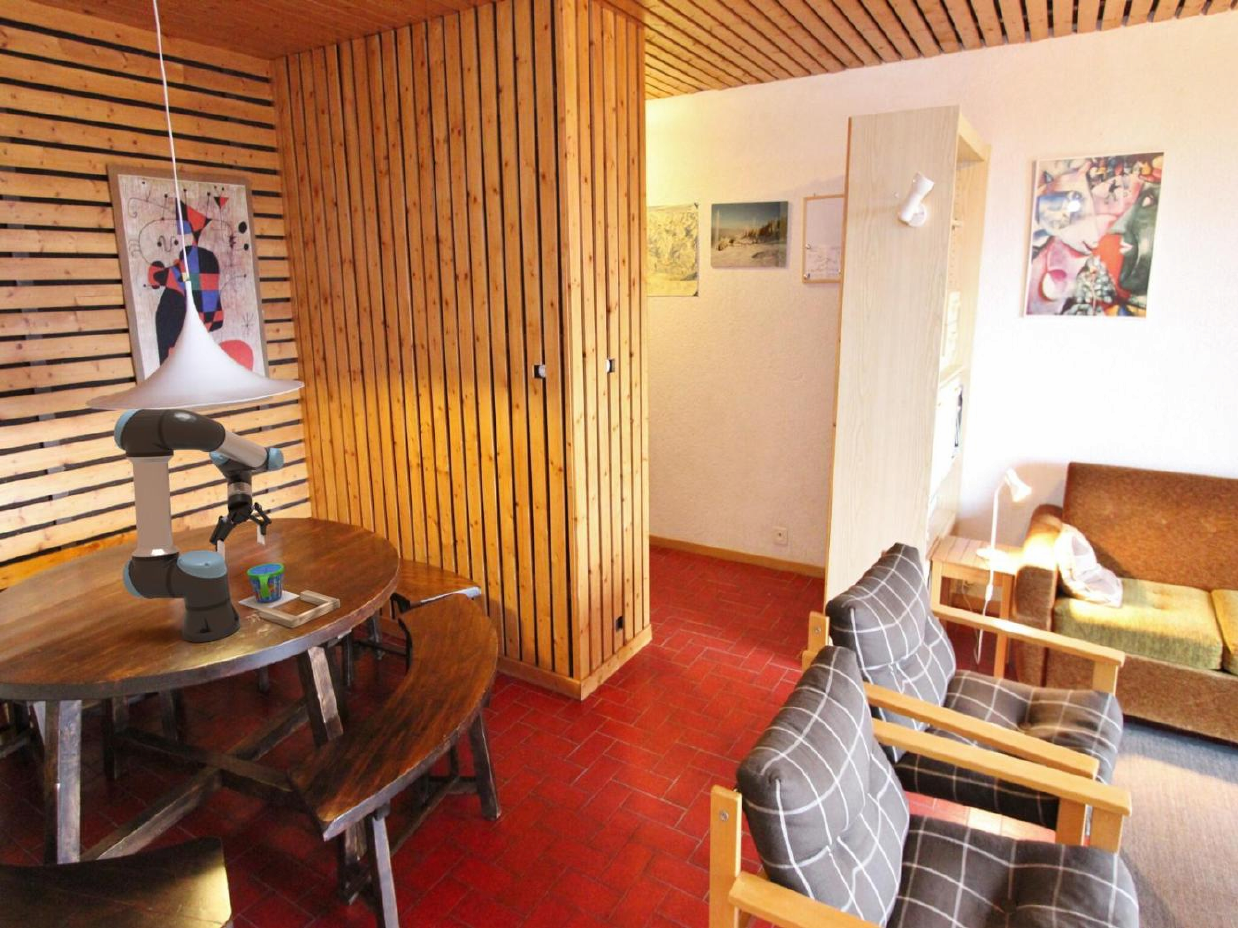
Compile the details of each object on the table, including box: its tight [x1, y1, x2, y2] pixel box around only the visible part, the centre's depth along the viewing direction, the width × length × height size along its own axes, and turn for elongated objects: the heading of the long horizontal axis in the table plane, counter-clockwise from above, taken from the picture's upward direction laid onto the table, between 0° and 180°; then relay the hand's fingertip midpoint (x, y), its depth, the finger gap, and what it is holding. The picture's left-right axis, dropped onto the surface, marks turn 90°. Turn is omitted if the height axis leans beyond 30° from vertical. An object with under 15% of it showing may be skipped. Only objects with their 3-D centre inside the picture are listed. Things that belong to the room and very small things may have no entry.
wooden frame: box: [258, 589, 341, 629], centre depth 230 cm, size 17×16×2 cm
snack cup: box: [246, 562, 285, 602], centre depth 239 cm, size 16×10×10 cm
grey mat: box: [237, 589, 301, 611], centre depth 240 cm, size 13×13×1 cm
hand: (241, 551), depth 241 cm, fingers open, 13 cm apart
